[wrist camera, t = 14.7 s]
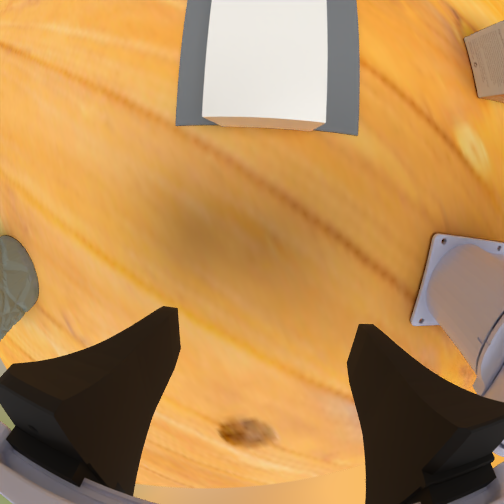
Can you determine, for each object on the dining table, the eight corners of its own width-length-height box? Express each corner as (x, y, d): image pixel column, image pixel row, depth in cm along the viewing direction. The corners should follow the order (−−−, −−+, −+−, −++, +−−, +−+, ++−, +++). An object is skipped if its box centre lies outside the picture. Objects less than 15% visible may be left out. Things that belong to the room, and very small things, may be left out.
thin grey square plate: (354, -9, 13) (355, -10, 13) (356, 135, 17) (357, 135, 17) (191, -16, 14) (190, -17, 13) (176, 125, 18) (175, 125, 17)
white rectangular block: (312, -12, 13) (322, -54, 8) (310, 131, 17) (325, 122, 12) (232, -16, 14) (220, -58, 8) (222, 126, 17) (201, 116, 12)
